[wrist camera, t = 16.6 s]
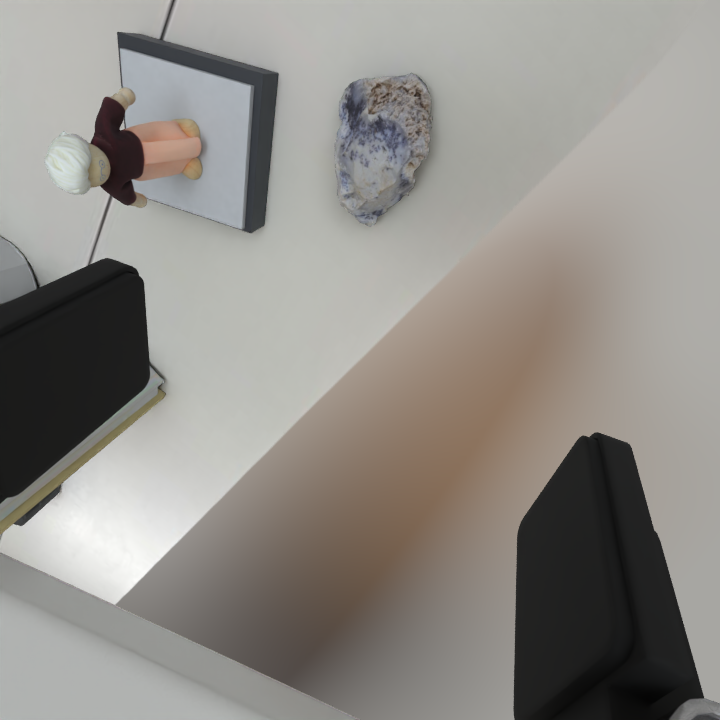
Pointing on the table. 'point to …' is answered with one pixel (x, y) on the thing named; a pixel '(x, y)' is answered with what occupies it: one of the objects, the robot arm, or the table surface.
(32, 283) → the book
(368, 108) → the mineral specimen
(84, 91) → the table surface
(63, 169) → the grandmother figurine
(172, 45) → the scale
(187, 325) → the table surface
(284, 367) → the table surface
